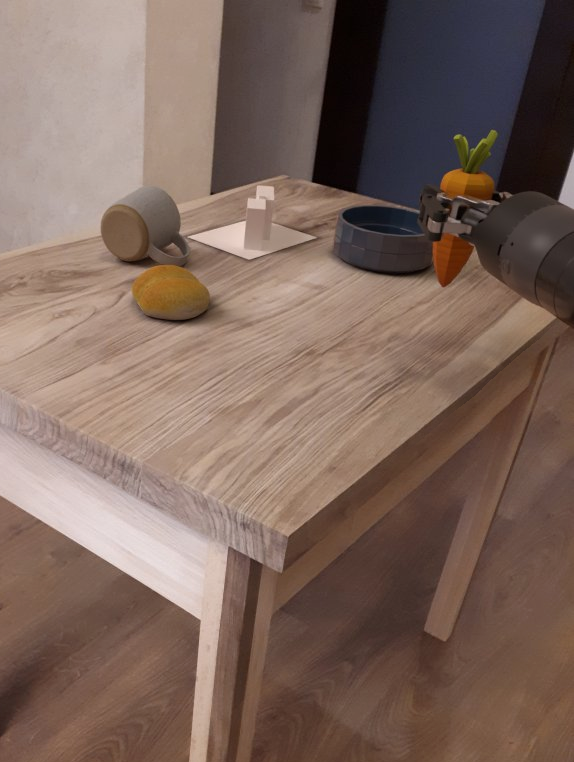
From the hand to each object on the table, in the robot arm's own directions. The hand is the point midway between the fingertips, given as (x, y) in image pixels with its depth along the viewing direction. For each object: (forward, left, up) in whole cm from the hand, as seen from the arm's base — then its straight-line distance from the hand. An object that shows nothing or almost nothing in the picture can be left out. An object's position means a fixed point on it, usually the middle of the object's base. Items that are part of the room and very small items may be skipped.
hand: (450, 194), depth 79 cm
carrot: (+1, +3, -9) cm, 9 cm away
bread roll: (+23, -15, -14) cm, 31 cm away
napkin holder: (+1, -32, -14) cm, 36 cm away
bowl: (-11, -19, -14) cm, 27 cm away
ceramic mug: (+18, -30, -14) cm, 38 cm away
